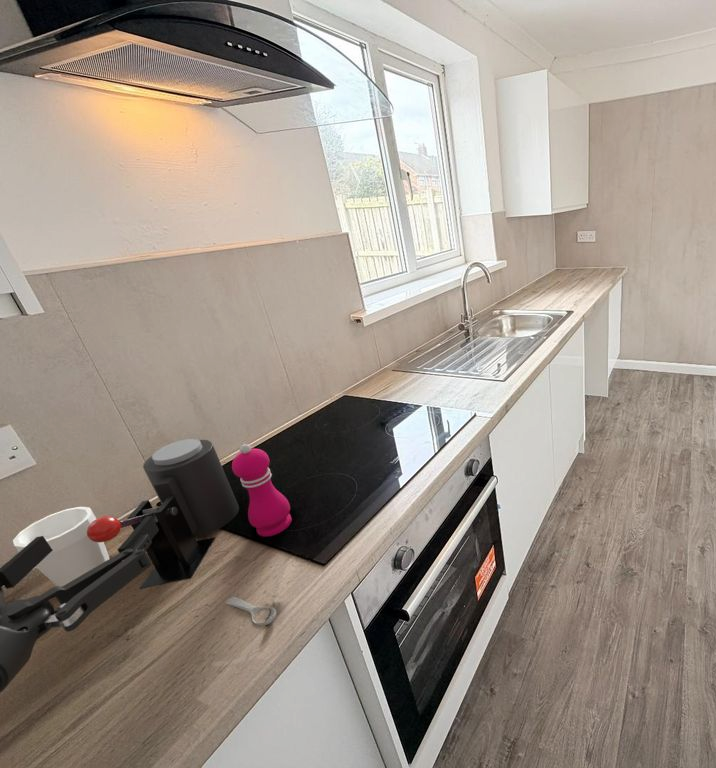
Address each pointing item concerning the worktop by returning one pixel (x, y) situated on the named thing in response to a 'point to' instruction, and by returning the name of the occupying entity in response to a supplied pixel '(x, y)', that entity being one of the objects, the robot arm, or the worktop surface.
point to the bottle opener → (252, 609)
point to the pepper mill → (261, 492)
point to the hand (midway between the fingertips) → (100, 533)
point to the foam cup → (65, 544)
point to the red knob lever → (114, 525)
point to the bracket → (172, 545)
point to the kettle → (193, 484)
